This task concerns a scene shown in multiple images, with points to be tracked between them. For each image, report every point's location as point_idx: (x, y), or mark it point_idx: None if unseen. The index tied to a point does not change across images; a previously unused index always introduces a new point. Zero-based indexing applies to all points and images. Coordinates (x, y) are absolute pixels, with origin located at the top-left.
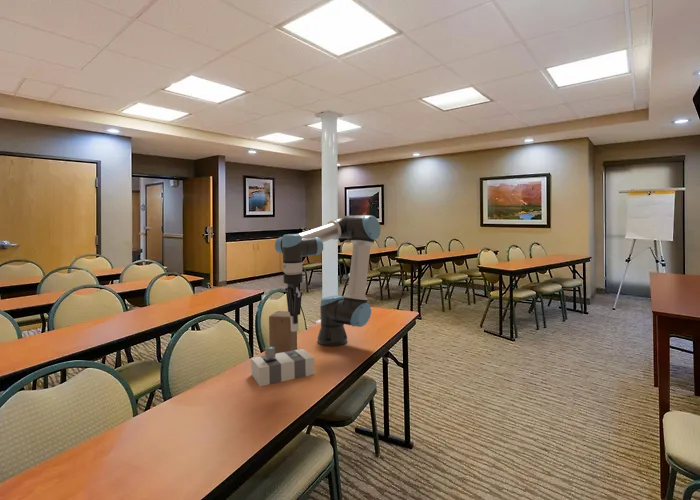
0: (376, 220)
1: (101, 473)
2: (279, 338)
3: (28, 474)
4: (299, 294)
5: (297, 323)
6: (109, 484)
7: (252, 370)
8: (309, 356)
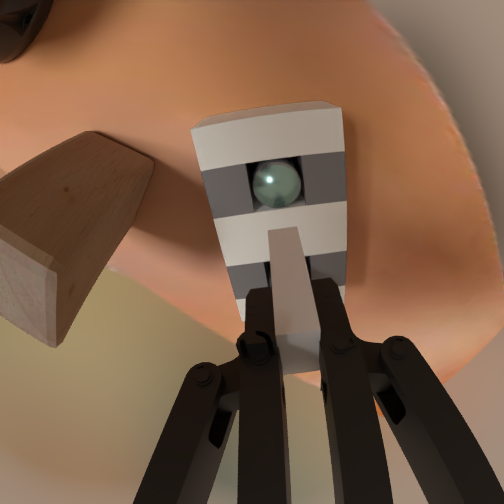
0: None
1: None
2: (109, 241)
3: None
4: None
5: (305, 270)
6: (444, 378)
7: None
8: (319, 122)
